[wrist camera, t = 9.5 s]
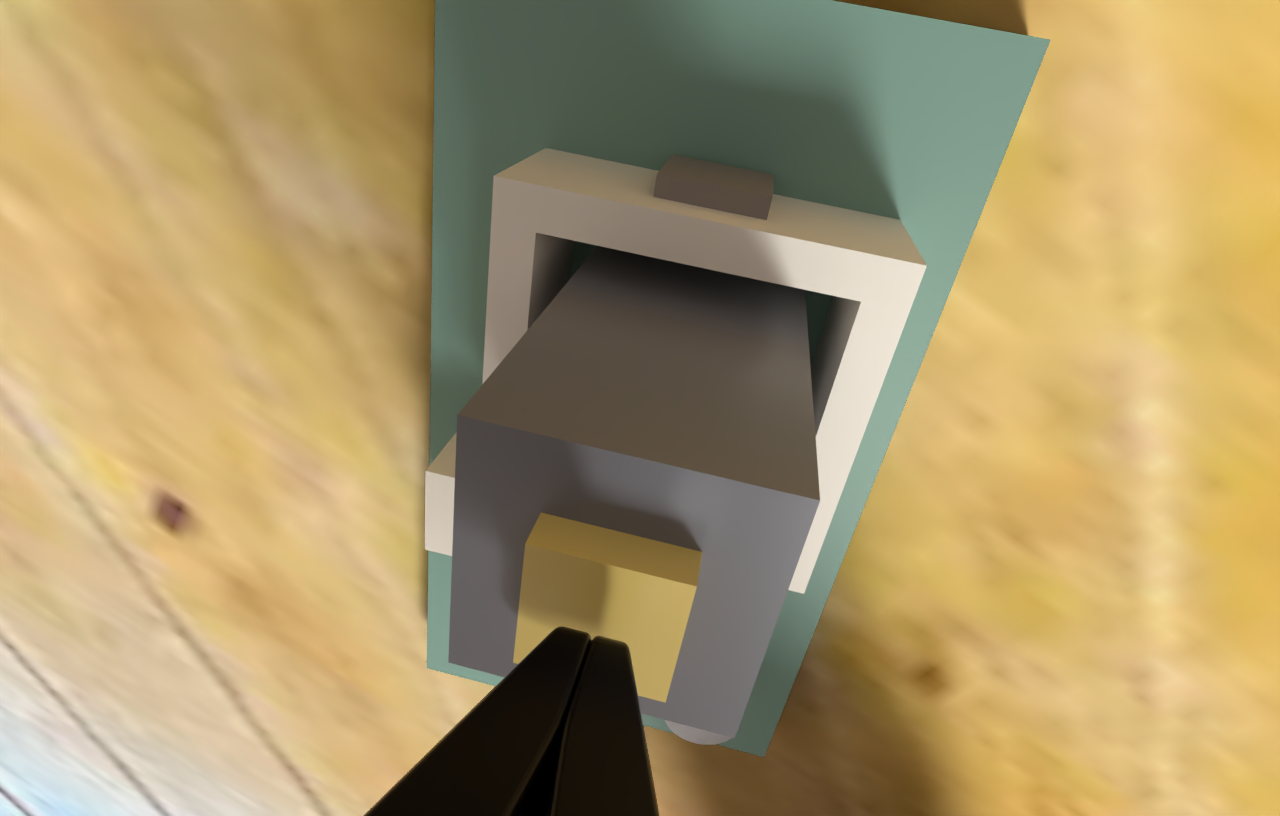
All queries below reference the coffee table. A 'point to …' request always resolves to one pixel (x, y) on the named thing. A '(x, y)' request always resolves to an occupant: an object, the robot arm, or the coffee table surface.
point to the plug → (640, 481)
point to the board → (714, 214)
